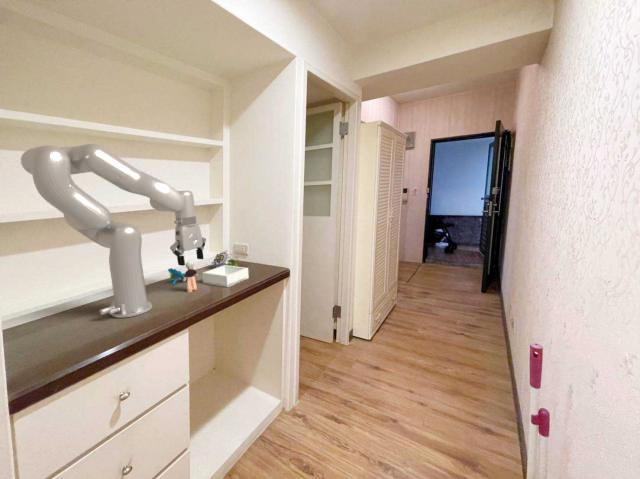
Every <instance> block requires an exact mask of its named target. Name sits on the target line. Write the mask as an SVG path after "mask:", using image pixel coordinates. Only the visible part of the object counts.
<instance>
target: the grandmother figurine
mask: <svg viewBox="0 0 640 479" xmlns="http://www.w3.org/2000/svg"><path fill="white" fill-rule="evenodd" d="M194 265H195V264H194V262H193V261H188V262H185V268H186V269H187V270H186V271H185V272H184V274H185V275H184V279H183V280H182V282H186V293H187V294H190V293H193V292H195V291H197V290H198V288H197V282H196V277H198V276H199V274H198V272H197V271H196V270H195V269H194ZM186 278H187V281H186Z"/></svg>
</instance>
